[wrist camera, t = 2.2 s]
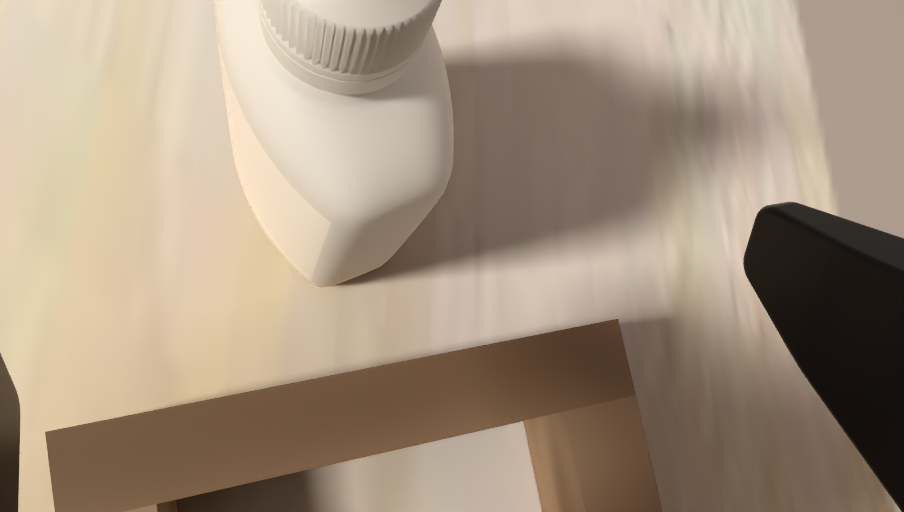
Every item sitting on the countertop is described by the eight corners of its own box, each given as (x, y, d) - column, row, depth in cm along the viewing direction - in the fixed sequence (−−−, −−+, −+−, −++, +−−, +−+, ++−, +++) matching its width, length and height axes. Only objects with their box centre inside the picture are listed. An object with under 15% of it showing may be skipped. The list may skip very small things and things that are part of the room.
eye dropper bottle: (206, 277, 19) (110, 79, 7) (238, 62, 20) (197, -408, 8) (386, 298, 20) (554, 150, 8) (406, 90, 21) (578, -297, 9)
